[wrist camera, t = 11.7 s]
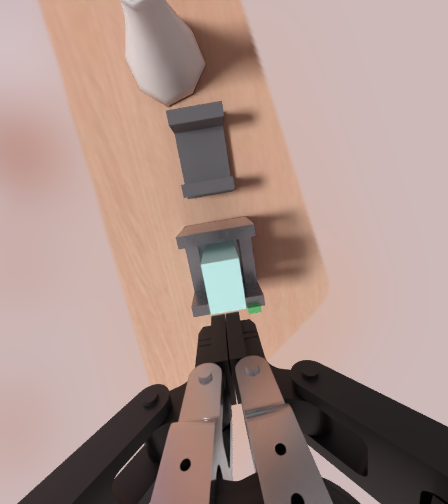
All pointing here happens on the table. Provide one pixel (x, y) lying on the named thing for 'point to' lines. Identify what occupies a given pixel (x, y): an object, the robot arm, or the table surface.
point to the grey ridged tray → (202, 149)
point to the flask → (161, 50)
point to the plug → (223, 277)
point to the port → (241, 235)
